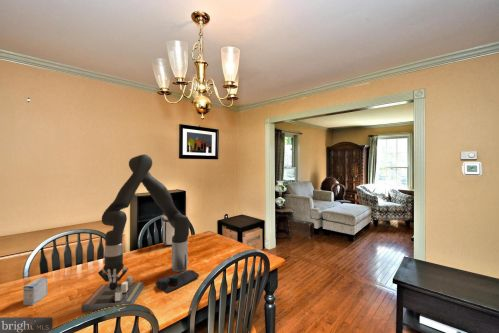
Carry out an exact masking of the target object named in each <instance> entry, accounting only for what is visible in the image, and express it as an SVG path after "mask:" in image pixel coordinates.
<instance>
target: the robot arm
mask: <svg viewBox="0 0 499 333" xmlns="http://www.w3.org/2000/svg"><path fill="white" fill-rule="evenodd" d="M152 166H153V159H152V157H151V156H149V155H148V154H139V155H136V156H134V157H131V158H130V159H129V161H128V167H129V169H130V170H131V172H132V174H131V175H130V176H129V178H128V179H127V180H126V181H125V182H124V184H123V185H122V186H121V188H120V189H119V191H118V193H117V194H116V196H115V199H114V200H113V201H112V203H110V204H109V206H108V207H107V208H105V211H103V213H102V215H101V223H102V224H103V225H105V226H109V227H110V226H111V227H112V229H111V230H109V231H107V232H106V233H105V235H104V236H105V237H104V238H105V239H104V241H105V244H104V252H103V254H104V255H103V256H104V260H103V261H104V262H103V264H104V266H103V268H102V269H100V270H99V271H98V272H97V274H98V275H99V276H100V278H101V279H102V280H103V281H104V282H105V283H106V282H108V284H110V289H111V290H115V289H116V288H117V284H118V282H120V281H121V280H122V278H123V277H124V276H125V275H126V274H127V272H128V271H129V268H128V267H125V266H124V262H123V261H124V244H123V243H124V242H123V238H124V236H123V235H124V234H123V233H124V231H125V227H126V224H127V220H128V216H127V214H126V212H125V211H122V210H123V209H127V208H128V207H129V206H130V205H131V203H132V200H133V198H134V196H135V194H136V192H137V190H138V189H139V187H140V185H141V184H142V186H144V188H145V189H146V191H147V192H148V193H149V195H150V197H151V198H152V199H153V200H154V203H155V204H156V205H157V206H158V207H159V208H160V210H161V211H162V212H163V213H165V215H166V217H167V218H168V220H169V222H170V224H171V226H172V227H173V228H175V231H174V236H173V237H172V244H171V271H172V272H176V273H182V272H185V271H187V269H188V266H189V259H188V258H189V251H188V242H189V241H188V240H189V239H188V238H189V236H190V219H189V217H188V216H187V215H184V214H182V213H181V212H180V211H179V210H178V208H177V207H176V206H175V203H174V200H173V197H172V195H171V193H170V191H169V190H168V188H167V187H166V186H165V184H164V183H162V182H160V181H159V180H158V179H157V178H155V177H154V176H153V175H152V174H151V173H150V170H151V168H152ZM120 273H121V274H120ZM119 274H120V275H119Z"/></svg>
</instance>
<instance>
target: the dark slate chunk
mask: <svg viewBox="0 0 499 333" xmlns="http://www.w3.org/2000/svg"><path fill="white" fill-rule="evenodd" d="M199 274H200V273H198V272H196V271H195V270H193V269H188V270H184V271H181V272H177V273H174V274H171V275H168V276H164V277H162V278H159V279H157V280H156V281H155V285H156V286H157V288H158V289H159V290H160V291H162V292H164V293H167V294H169V293H171V292H172V291H175V290H177V289H180V288H181V287H183V286H184V285H186V284H189V283H191V282H192V281H195V280H196V279H197V278H199V276H200V275H199ZM170 285H171V286H172V287H171V286H170Z"/></svg>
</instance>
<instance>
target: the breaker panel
mask: <svg viewBox="0 0 499 333" xmlns="http://www.w3.org/2000/svg"><path fill="white" fill-rule="evenodd" d="M133 277H134V276H133V275H128V276H127V277H126V282H128V290H127V292H126V293H122V290H121V284H122V283H123V282H121V283H117V288H116V289H115V290H111V289H110V283H105V284H100V285H99V287H98V288H96V289H95V291H94V292H93V293H92V294H91V295H90V296H89V297H88V298H87V299H86V300H85V302H83V303H82V304H81V313H88V312H87V311H91V312H98V311H97V310H101V309H104V308H108V307H113V306H117V305H122V304H135V303H136V301H137V299H138V298H139V296H140V295H141V292H142V291H143V289H144V281H140V282H139V281H137V282H134V281H133Z"/></svg>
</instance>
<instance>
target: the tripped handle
mask: <svg viewBox="0 0 499 333" xmlns="http://www.w3.org/2000/svg"><path fill="white" fill-rule="evenodd" d="M121 283H122V284H121V290H122V293H126V292H127V290H128V282H127V281H123V282H121Z"/></svg>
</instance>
